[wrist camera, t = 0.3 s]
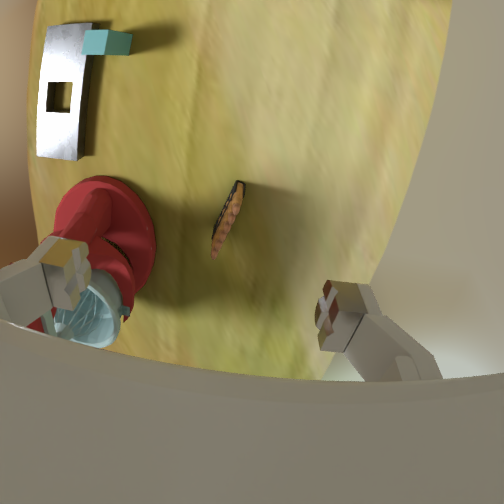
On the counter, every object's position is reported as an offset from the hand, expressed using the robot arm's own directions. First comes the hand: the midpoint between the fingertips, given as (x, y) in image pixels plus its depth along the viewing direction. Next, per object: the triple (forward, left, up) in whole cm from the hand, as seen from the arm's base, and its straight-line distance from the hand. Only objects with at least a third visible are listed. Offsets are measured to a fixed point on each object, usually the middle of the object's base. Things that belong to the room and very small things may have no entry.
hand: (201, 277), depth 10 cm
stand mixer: (+32, -24, -47) cm, 61 cm away
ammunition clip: (+19, +1, -47) cm, 50 cm away
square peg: (-8, -24, -47) cm, 53 cm away
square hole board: (+1, -34, -47) cm, 58 cm away
